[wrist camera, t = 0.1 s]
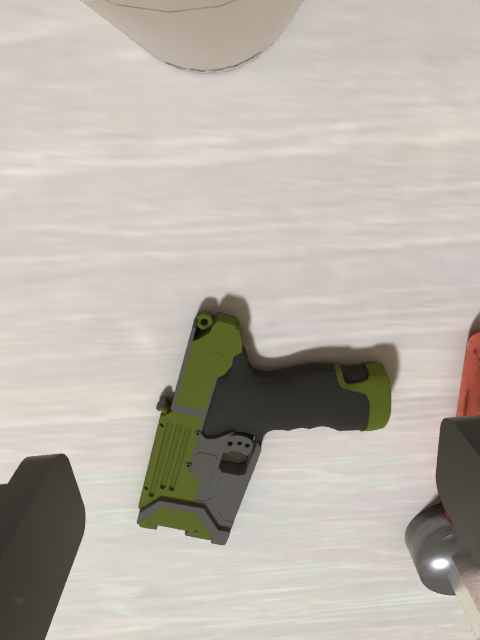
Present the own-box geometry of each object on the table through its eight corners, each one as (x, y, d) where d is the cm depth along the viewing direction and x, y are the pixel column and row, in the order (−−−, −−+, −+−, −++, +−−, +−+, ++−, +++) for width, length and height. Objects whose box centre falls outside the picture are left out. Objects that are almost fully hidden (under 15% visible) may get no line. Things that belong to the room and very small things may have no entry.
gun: (308, 540, 37) (133, 505, 35) (404, 354, 29) (182, 298, 27) (313, 568, 34) (126, 533, 33) (418, 375, 26) (177, 315, 25)
